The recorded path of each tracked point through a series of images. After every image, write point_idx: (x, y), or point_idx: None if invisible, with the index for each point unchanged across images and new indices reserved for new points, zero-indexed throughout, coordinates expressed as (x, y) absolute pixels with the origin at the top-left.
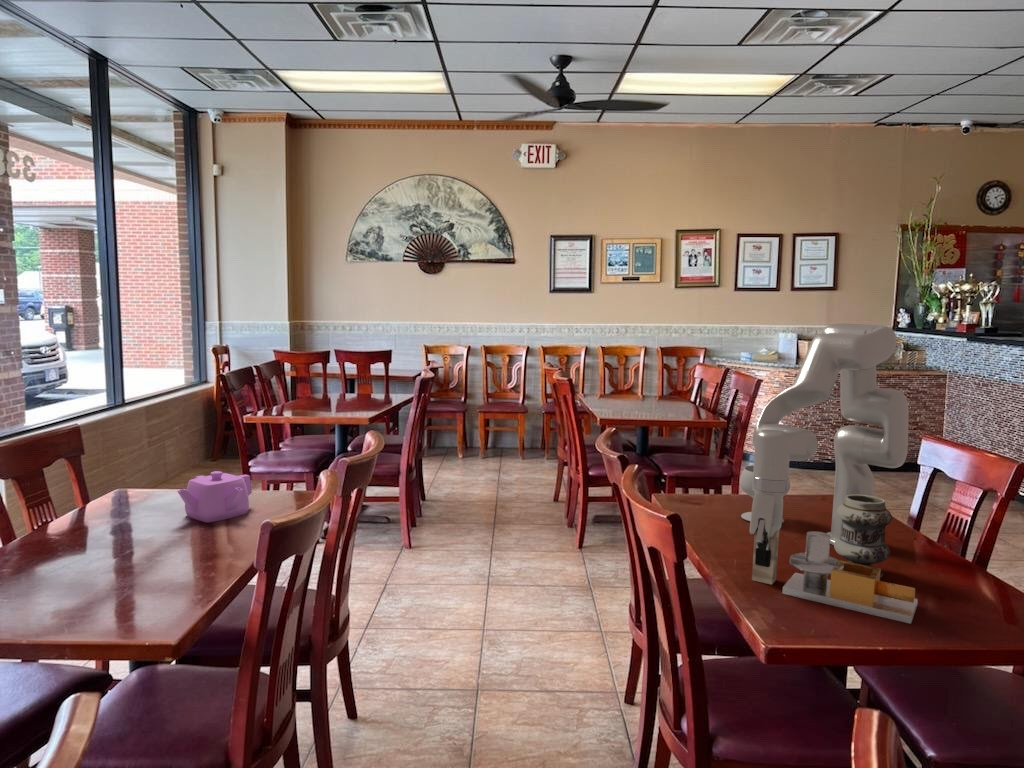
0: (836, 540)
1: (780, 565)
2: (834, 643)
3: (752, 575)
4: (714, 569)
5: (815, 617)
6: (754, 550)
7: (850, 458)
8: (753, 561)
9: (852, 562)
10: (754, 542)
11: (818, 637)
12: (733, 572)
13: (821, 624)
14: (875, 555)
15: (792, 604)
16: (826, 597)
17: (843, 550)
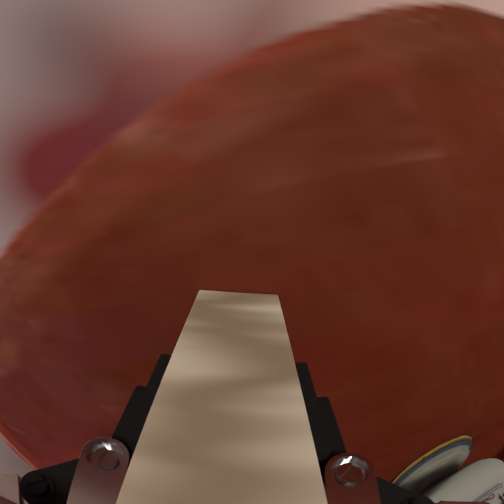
0: (480, 487)
1: (446, 337)
2: (16, 447)
3: (196, 301)
4: (245, 81)
5: (69, 449)
6: (156, 400)
7: None
8: (179, 343)
9: (438, 478)
10: (137, 454)
11: (10, 433)
12: (260, 178)
13: (52, 450)
14: None
15: (88, 421)
16: None
17: None
